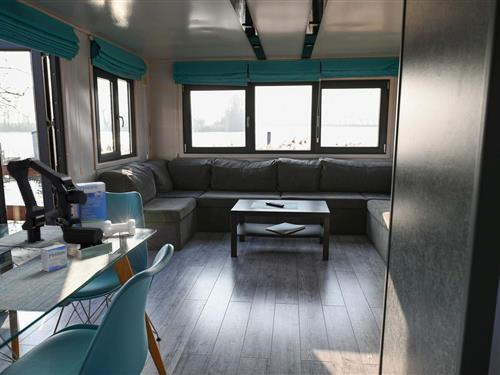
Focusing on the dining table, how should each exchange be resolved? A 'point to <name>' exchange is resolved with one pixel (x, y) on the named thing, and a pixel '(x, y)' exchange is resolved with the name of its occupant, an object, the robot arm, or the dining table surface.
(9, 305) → the dining table surface
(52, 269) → the medicine box
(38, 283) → the dining table surface
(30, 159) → the robot arm
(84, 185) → the string lights box
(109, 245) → the charging rails
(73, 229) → the security camera
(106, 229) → the bone shaped toy
